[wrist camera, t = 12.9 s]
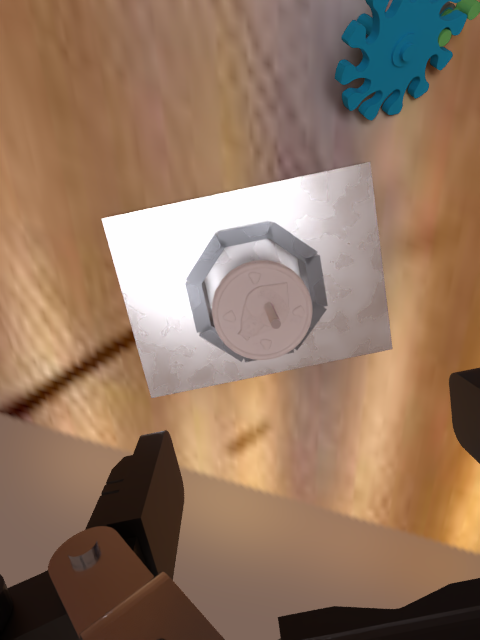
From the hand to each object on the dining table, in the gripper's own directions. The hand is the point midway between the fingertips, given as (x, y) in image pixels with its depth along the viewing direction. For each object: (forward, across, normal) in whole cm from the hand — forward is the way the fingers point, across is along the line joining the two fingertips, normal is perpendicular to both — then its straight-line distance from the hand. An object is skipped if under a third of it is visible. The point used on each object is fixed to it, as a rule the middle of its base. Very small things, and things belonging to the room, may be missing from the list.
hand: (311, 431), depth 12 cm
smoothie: (+25, 0, 0) cm, 25 cm away
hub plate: (+26, 0, 0) cm, 26 cm away
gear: (+26, -14, -15) cm, 33 cm away
